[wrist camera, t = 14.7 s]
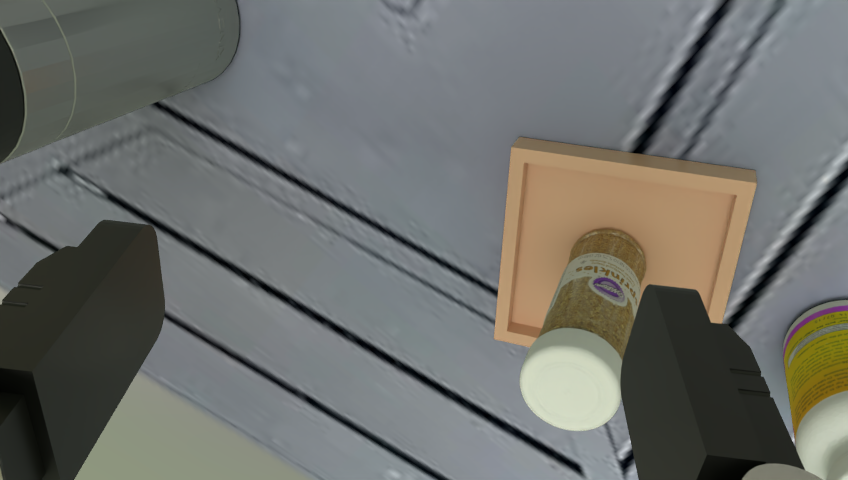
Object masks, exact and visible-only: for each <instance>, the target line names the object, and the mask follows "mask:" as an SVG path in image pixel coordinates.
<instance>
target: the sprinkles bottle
mask: <svg viewBox="0 0 848 480" xmlns="http://www.w3.org/2000/svg"><path fill="white" fill-rule="evenodd" d="M645 272H646V260H645V256H644V253H643V251H642V249H641V247H640V246H639V245H638V244H637V243H636V242H635V241H634V239H632V238H631V237H630V236H628V235H626V234H624V233H623V232H621V231H616V230H613V229H601V230H594V231H592V232H589V233H587V234H585V235H583V236H582V237H581V238H580V239H578V241H577V242H576V243H575V244H574V246H573V247H572V249H571V252H570V257H569V262H568V264H567V267H566V268H565V270H564V272H563V274H562V276H561V279H560V281H559V284H558V287H557V289H556V292H555V294H554V296H553V299H552V301H551V304H550V306H549V309H548V311H547V314H546V316H545V319H544V323H543V327H542V329H541V331H540V334H539V336H538V338H537V339H536V340H535V341H534V343H533V344H532V345H531V347H530V349H529V351H528V353H527V356H526V358H525V361H524V364H523V366H522V369H521V373H520V388H521V392H522V396H523V398H524V400H525V402H526V403H527V405H528V406H529V408H530V409H531V410H532V411H533V412H534V413H535V414H536V415H537V416H538V417H539V418H541V419H542V420H544V421H545V422H547V423H549V424H551V425H553V426H555V427H558V428H561V429H565V430H571V431H585V430H590V429H594V428H597V427H599V426H601V425H603V424H605V423H606V422H607V421H609V420H610V419H611V418H612V417H613V416H614V414H615V413H616V411H617V409H618V407H619V405H620V401H621V398H622V396H621V387H620V377H621V366H622V360H623V356H624V353H625V349H626V346H627V343H628V340H629V336H630V333H631V330H632V326H633V323H634V320H635V316H636V313H637V310H638V305H639V300H640V288H641V282H642V281H643V279H644V276H645Z"/></svg>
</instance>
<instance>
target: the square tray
mask: <svg viewBox="0 0 848 480" xmlns="http://www.w3.org/2000/svg"><path fill="white" fill-rule="evenodd" d="M756 185H757V179H756V171H755V170H748V169H741V168H734V167H727V166H720V165H713V164H706V163H699V162H692V161H685V160H678V159H671V158H664V157H657V156H650V155H643V154H636V153H629V152H622V151H615V150H608V149H601V148H594V147H587V146H580V145H573V144H566V143H559V142H552V141H545V140H538V139H531V138H524V137H519V138H518V139H517V141H516V142H515V143H514V144H513V146H512V147H511V156H510V167H509V178H508V189H507V200H506V211H505V222H504V233H503V244H502V255H501V266H500V277H499V288H498V299H497V310H496V321H495V332H494V339H496V340H500V341H504V342H509V343H513V344H518V345H522V346H527V347H531V345H532V344H533V343H534V341H535V340H536V339H537V338H538V336H539V334H540V331H541V329H542V327H543V323H544V319H545V316H546V314H547V311H548V309H549V306H550V304H551V301H552V299H553V296H554V294H555V292H556V289H557V287H558V284H559V281H560V279H561V276H562V274H563V272H564V270H565V268H566V267H567V264H568V262H569V257H570V252H571V249H572V247H573V246H574V244H575V243H576V242H577V241H578V239H580V238H581V237H582V236H583V235H585V234H587V233H589V232H592V231H594V230H601V229H613V230H616V231H621V232H623V233H624V234H626V235H628V236H630V237H631V238H632V239H634V241H635V242H636V243H637V244H638V245H639V246H640V247H641V249H642V251H643V253H644V256H645V260H646V272H645V276H644V279H643V281H642V282H641V288H640V300H641V297H642V294H643V291H644V289H645V288H646V286H647V285H649V284H653V285H661V286H670V287H679V288H687V289H695V290H697V291H698V292H699V294H700V296H701V299H702V301H703V304H704V306H705V309H706V311H707V314H708V316H709V319H710V321H711V323H720V324H722V321H723V317H724V313H725V309H726V305H727V301H728V297H729V293H730V289H731V285H732V281H733V277H734V273H735V269H736V265H737V261H738V257H739V253H740V249H741V245H742V241H743V237H744V233H745V229H746V225H747V221H748V217H749V213H750V209H751V205H752V201H753V197H754V193H755V189H756ZM640 300H639V303H640ZM638 307H639V305H638Z"/></svg>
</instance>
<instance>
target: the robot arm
mask: <svg viewBox="0 0 848 480" xmlns="http://www.w3.org/2000/svg"><path fill="white" fill-rule="evenodd" d="M238 38H239V17H238V10H237V4H236V2H235V0H0V164H1V163H4V162H6V161H9V160H11V159H14V158H16V157H19V156H21V155H24V154H26V153H29V152H31V151H34V150H37V149H39V148H42V147H44V146H46V145H48V144H51V143H53V142H56V141H59V140H61V139H64V138H66V137H69V136H71V135H74V134H76V133H79V132H81V131H84V130H86V129H89V128H92V127H94V126H97V125H99V124H102V123H104V122H107V121H109V120H112V119H114V118H117V117H120V116H122V115H125V114H127V113H130V112H132V111H135V110H137V109H140V108H142V107H145V106H147V105H150V104H153V103H155V102H158V101H160V100H163V99H165V98H168V97H171V96H173V95H176V94H178V93H181V92H183V91H186V90H188V89H191V88H193V87H196V86H198V85H201V84H203V83H206V82H208V81H211V80H213V79H214V78H216V77H217V76H218V75H220V74H221V73H222V72H223V71H224V70H225V69H226V67H227V66H228V65H229V64H230V62H231V60H232V58H233V56H234V53H235V51H236V48H237V43H238ZM164 313H165V299H164V290H163V282H162V274H161V266H160V258H159V250H158V242H157V236H156V232H155V230H154V228H153V227H152V226H151V225H146V224H137V223H128V222H120V221H111V220H103V221H101V222H99V223H98V224H97V226H96V227H95V228H94V229H93V230H92V231H91V232H90V234H89V235H88V236H87V237H86V238H85V239H84V240H83V242H82V243H81V244H80V245H79V246H78V247H71V246H66V247H64V248H62V249H60V250H59V251H57V252H55V253H53V254H51V255H50V256H48V257H46V258H44V259H42V260H41V261H39V262H37V263H36V264H35V265H34V266H33V268H32V269H31V270H30V271H29V272H28V273H27V274H26V275H25V276H24V277H23V278H22V279H21V280H20V282H19V283H18V287H14V288H13V289H12V290H11V291H10V292H9V293H8V294H7V296H6V297H5V298H4V299H3V300H2V305H0V480H74V479H75V477H76V475H77V474H78V472H79V470H80V469H81V467H82V465H83V464H84V462H85V460H86V458H87V457H88V455H89V453H90V451H91V450H92V448H93V447H94V445H95V443H96V442H97V440H98V438H99V436H100V435H101V433H102V431H103V430H104V428H105V426H106V425H107V423H108V421H109V420H110V418H111V416H112V414H113V413H114V411H115V409H116V408H117V406H118V404H119V403H120V401H121V399H122V398H123V396H124V394H125V393H126V391H127V389H128V387H129V386H130V384H131V382H132V381H133V379H134V377H135V376H136V374H137V372H138V371H139V369H140V367H141V365H142V364H143V362H144V360H145V359H146V357H147V355H148V354H149V352H150V350H151V349H152V347H153V345H154V343H155V342H156V340H157V338H158V336H159V334H160V331H161V328H162V324H163V320H164ZM620 387H621V396H622V401H623V406H624V411H625V415H626V420H627V425H628V430H629V435H630V440H631V444H632V449H633V454H634V459H635V464H636V468H637V473H638V478H639V480H823V479H821V478H819V477H818V476H816V475H814V474H812V473H810V472H808V471H805V468H804V466H803V464H802V462H801V460H800V457H799V455H798V453H797V451H796V448H795V446H794V444H793V442H792V440H791V437H790V435H789V433H788V431H787V428H786V426H785V424H784V422H783V419H782V417H781V415H780V413H779V411H778V408H777V406H776V404H775V402H774V399H773V398H771V397H770V391H769V388H768V386H767V384H766V382H765V379H764V377H761V371H760V368H759V366H758V364H757V362H756V359H755V357H754V355H753V353H752V351H751V348H750V347H749V346H748V345H747V344H746V343H745V342H744V341H743V340H742V339H741V338H740V337H739V336H738V335H737V334H736V333H735V332H734V331H733V330H732V329H731V328H730V327H729V326H728V325H727V324H720V323H711V321H710V319H709V316H708V314H707V311H706V309H705V306H704V304H703V301H702V299H701V296H700V294H699V292H698V291H697V290H695V289H687V288H679V287H670V286H661V285H653V284H649V285H647V286H646V288H645V289H644V291H643V294H642V297H641V300H640V303H639V307H638V310H637V313H636V316H635V320H634V323H633V326H632V330H631V333H630V336H629V340H628V343H627V346H626V349H625V353H624V356H623V360H622V366H621V377H620Z"/></svg>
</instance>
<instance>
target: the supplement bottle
mask: <svg viewBox="0 0 848 480" xmlns="http://www.w3.org/2000/svg"><path fill="white" fill-rule="evenodd" d="M783 360H784V368H785V375H786V382H787V388H788V394H789V401H790V408H791V415H792V423H793V430H794V437H795V444H796V451H797V453H798V455H799V457H800V460H801V462H802V464H803V466H804V468H805V471H808V472H810V473H812V474H814V475H816V476H818V477H819V478H821V479H823V480H848V300H839V301H833V302H828V303H825V304H822V305H819V306H816V307H814V308H812V309H810V310H808V311H807V312H805V313H804V314H803V315H801V316H800V317H799V318H798V319H797V320H796V321H795V322H794V323H793V324H792V326H791V327H790V329H789V330H788V332H787V334H786V337H785V340H784V344H783Z"/></svg>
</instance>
